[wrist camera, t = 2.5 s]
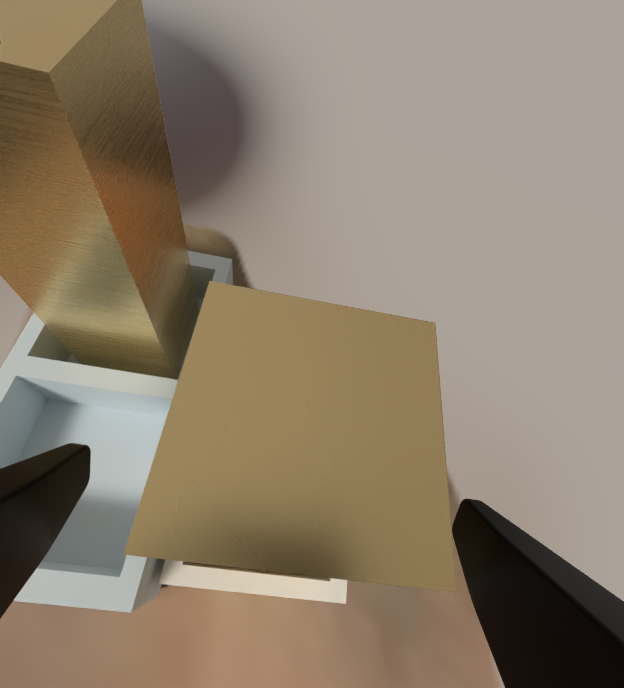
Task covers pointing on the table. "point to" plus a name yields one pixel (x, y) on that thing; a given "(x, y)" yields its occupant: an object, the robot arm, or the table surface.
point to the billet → (303, 445)
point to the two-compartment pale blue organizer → (92, 457)
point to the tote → (253, 581)
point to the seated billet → (91, 185)
